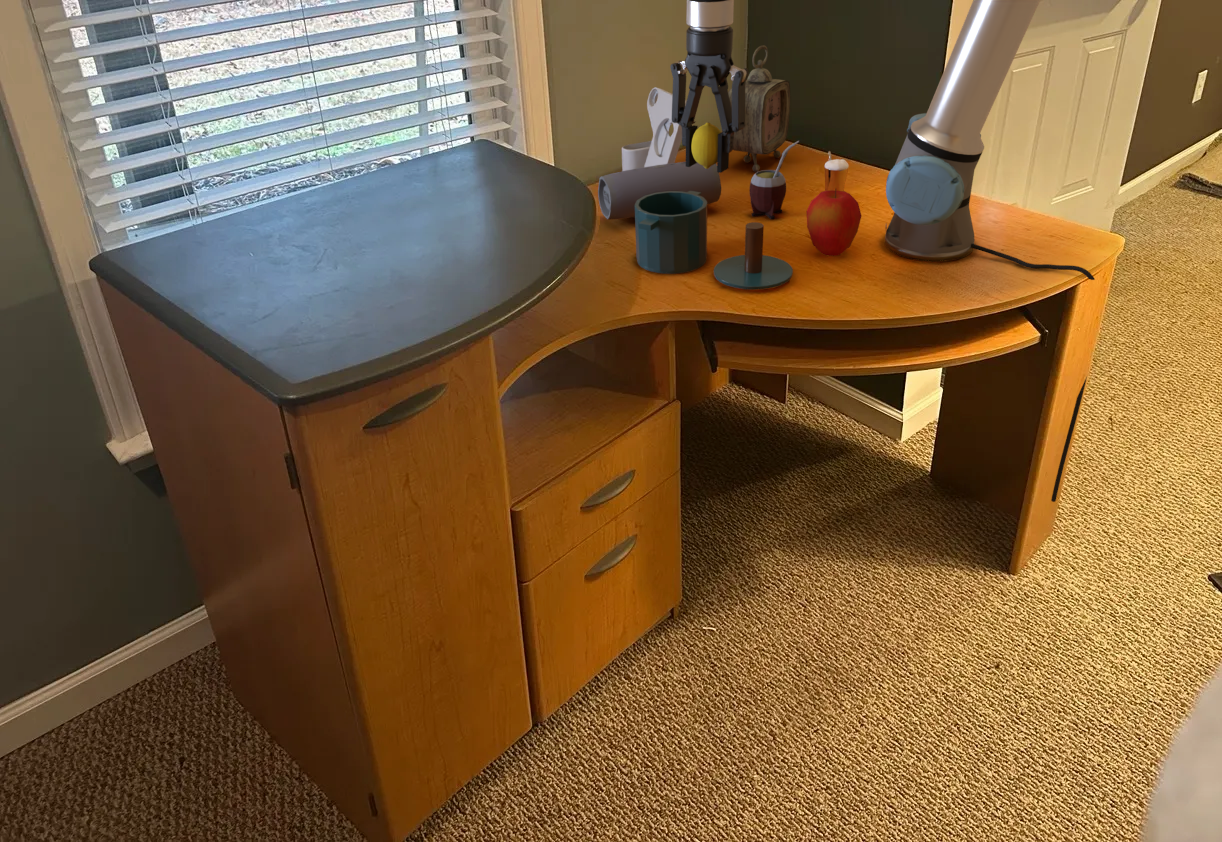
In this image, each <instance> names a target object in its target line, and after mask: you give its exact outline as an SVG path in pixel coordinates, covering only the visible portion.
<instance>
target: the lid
mask: <svg viewBox="0 0 1222 842" xmlns="http://www.w3.org/2000/svg"><path fill="white" fill-rule="evenodd" d="M764 228H765V225H764V224H763V223H762V222H756V221H753V222H747V223H746V224H745V234H744V236H745V237H744V238H745V239H744V254H740V255H735V256H730V257H727V258H725V259H722V260H721V261H719V262H718V263H716V264H715V266H714V267H713V276H714V278H715V280H717V281H718V282H719V283H720V284H723V285H725V286H727V287H731V288H733V289H739V290H748V291H749V290H752V291H754V290H755V291H756V290H768V289H774V288H777V287H780V286H783V285H785V284H786V283H788V282H789V281H790V280H791V279H792V278H793V275H794V269H793V267H792V265H791V264H790V263H789V262H787V261H785V260H784V259H781V258H779V257H775V256H771V255H770V256H769V255H765V254H763V253H764V230H765V229H764Z"/></svg>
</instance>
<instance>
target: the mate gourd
mask: <svg viewBox="0 0 1222 842" xmlns="http://www.w3.org/2000/svg"><path fill="white" fill-rule="evenodd" d="M799 143H800V140H797V141H795V142H793V143H792V144H790V145H788V147H786V148H785V149H784V150H783V152H782V153H781V156H780V160H779V162H778V165H777V167H776V169H763V170H759V171H758V172H755V173H754V174H753V176H752V177H751V180H750V182H749V198H750V206H751V210H752V212H751V217H752V218H753V217H754V218H755V217H760V216H761V217H763V216H766V217H767V218H768V219H770V220H775V218H776V217H775V215H776V214H782V213H783V209H782V206H783V203H784V200H785V197H786V194H787V182H786V178H785V176H784V174H783V173H782V172H781V171H780V169H781V167H782V165H783V162H784V161H785V158H786V157H787V155H788V153H789V151H790V150H791V149H792V148H794V147H795V146H796V145H797V144H799ZM774 214H775V215H774Z"/></svg>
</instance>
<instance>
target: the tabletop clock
mask: <svg viewBox="0 0 1222 842" xmlns="http://www.w3.org/2000/svg"><path fill="white" fill-rule="evenodd" d="M761 50H764V51H765V57H764V59H763V60H762V59H758V60H757V64H756V63H755V59H756V56H757V54H758V52H759V51H761ZM768 57H769V49H768V47H767V46H766V45H760V46H758V47H757V48H756V49H755V50H754V52H753V54H752V58H751V59H752V66H753V69H752V70H751V71H750V72H749V73H748V76H747V79H746V83H745V127H744V128H743V129H741V130H740V131H738V132H734V147H733V150H732V151H737V152H743V153H747V154H746V155H745V156H744V157H743V161H744V163H747V164H749V163H750V162H751V161H752V160H753V165H752V167H751V168H752V171H753V172H755V173H757V172H759V171H760V168H761V167H760V165H759V164H758V162H757V161H758V157H757V155H764V156H767V155H769V154H772V153H773V154H772V155H773V157H774V158H775V159H778V158H781V156H782V153H781V151H780V150H778V149H779V148H780V147H781V146H783V144H785V142H786V140H787V138H788V133H789V128H790V127H789V126H790V115H791V114H790V113H791V85H790V81H789V80H786V79H777V78H773V77H772V73H771V72H770V71H769V70H768V69H767V68H764V67H763V66H765V65H766V62H767V61H768ZM728 95H729V99H730V104H731V109H732V88H730V89H728ZM751 156H752V157H751Z"/></svg>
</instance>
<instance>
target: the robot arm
mask: <svg viewBox="0 0 1222 842" xmlns="http://www.w3.org/2000/svg"><path fill="white" fill-rule="evenodd" d="M1040 2H1041V0H972V2H971V5H970V6H969V9H968V12H967V14H966V16H965V19H964V22H963V24H962V27H961V29H960V31H959V33H958V37H957V39H956V41H955V44H954V46H953V48H952V51H951V53H950V56H949V58H948V60H947V63H946V66H945V68H944V70H943V73H942V74H941V77H940V80H939V82H938V85H937V87H936V90H935V91H934V95H933V97H932V99H931V102H930V104H929V108H928V109H927V111H926V112H924V113H918V114H915V115H913V116H911V117H910V119H909V120H908V121H909V122H908V126H907V128H906V137H905V139H904V142H903V144H902V146H901V149H900V152H899V154H898V156H897V158H896V162H895V163H894V165H893V167H892V168H891V169H890V171H889V173H888V175H887V178H886V184H885V195H886V201H887V202H888V205H889V207H890V208H891V210H892V211H893V213H894V214H893V215H892V217H891V219H890V222H889V224H888V225H887V224H885V235H884V246H885V247H886V249H887V250H888V251H890V252H891V253H893V254H895V255H896V256H900V257H902V258H906V259H909V260H915V261H920V262H931V263H935V262H950V261H956V260H959V259H963V258H966V257H967V256H970V255H971V254H972V252H973V251H974V250H977V251H980V252H983V253H987V254H989V255H993V256H995V257H998V258H1001V259H1004V260H1007V261H1011V262H1013V263H1016V264H1017V265H1019V266H1022V267H1024V268H1028V269H1033V270H1054V271H1055V270H1057V271H1075V272H1076V271H1077V272H1079V273H1081V274H1083V275H1084V276H1085V277H1086V278H1087V279H1088V280H1090V281H1095V280H1096V279H1095V277H1094V276H1093V274H1092V273H1091V272H1090V271H1089V270H1087V269H1086V268H1084V267H1082V266H1078V265H1072V264H1071V265H1070V264H1069V265H1068V264H1049V263H1048V264H1047V263H1044V264H1043V263H1042V264H1040V263H1038V264H1037V263H1030V262H1026V261H1025V260H1022V259H1020V258H1017V257H1014V256H1012V255H1009V254H1006V253H1004V252H1001V251H997V250H994V249H992V248H988V247H985V246H981V245H978V244H976V243H975V240H976V239H975V232H974V227H973V219H972V215H971V211H970V210H971V209H970V201H971V195H972V188H973V182H974V175H975V169H976V168H977V165H978V163H979V161H980V159H981V156H982V154H983V152H984V150H985V145H984V142H983V139H982V134H981V132H982V130H983V128H984V126H985V123H986V121H987V119H988V116H989V115H990V112H991V110H992V108H993V106H994V103H995V101H996V99H997V97H998V94H999V92H1000V91H1001V90H1000V89H1001V88H1002V86H1003V84H1004V81H1005V79H1006V77H1007V75H1008V73H1009V71H1010V68H1011V66H1012V63H1013V61H1014V59H1015V57H1016V55H1017V52H1018V50H1019V48H1020V46H1021V44H1022V41H1023V39H1024V37H1025V35H1026V32H1027V30H1028V29H1029V26H1030V24H1031V22H1032V20H1033V17H1034V15H1035V13H1036V11H1037V9H1038V6H1039V4H1040ZM734 4H735V0H686V23H685V24H686V25H687V26H689V27H688V28H687V29H686V31H685V33H686V41H685V42H686V43H685V44H686V45H685V50H686V52H687V53H686V57H685V59H684V60H677V61H675V62H673V63H671V64H670V72H671V76H672V92H671V94H672V122H673V123H678V124H679V125H681V127H682V140H681V144H682V147H685V162H686V167H691V166H692V165H694V164H696V163H697V162H696V160H695V159H694V157H693V155H692V149H691V144H692V139H693V135H694V133H695V131H696V130H697V129H698V128H699V127H698V125H696V124H695V123H696V122H697V121H695V120H696V115H697V111H698V109H699V104H700V101H701V98H702V94H703V91H704V88H705V87H708V88H710V89H711V93H712V94H713V95H714V99H715V105H716V108H717V114H718V117H719V122H720V127H721V133H720V134H718V157H717V163H716V165H717V172H719V174H721V173H724V172H725V171H726V170H728V169H729V166H730V165H729V163H730V153H732V152H733V151H734V150H733V147H734V132H738V131H740V130H741V129H743V128H744V127H745V83H746V80H747V79H748V76H749V74H750V72H749V69H748V68H746V67H743V68H741V67H738V66H736V65H735V64H734V61H733V58H732V53H733V48H734V47H733V45H734V44H733V43H734V29H733V27H731V25H733V23H734V7H735V5H734ZM687 72H688V73H689V75H690V76H691V77H690V80H689V85H688V89H689V90H688V94H687ZM729 75H730V80H731V81H732V83H731V89H732V109H731V104H730V99H729V95H728V92H729V83H728V77H729ZM686 94H687V95H686ZM686 96H687V98H686ZM685 100H686V105H685ZM673 123H672V124H673ZM1087 378H1088V376H1086V377H1085V379H1084V382H1083V384H1082V386H1081V388H1080V390H1079V392H1078V395H1077V396H1076V399H1075V403H1074V406H1073V407H1074V408H1073V411H1072V414H1071V415H1072V416H1071V419H1070V423H1069V426H1068V431H1067V434H1066V438H1065V443H1064V445H1063V449H1062V453H1061V457H1060V462H1059V465H1058V469H1057V473H1056V477H1055V482H1054V485H1053V490H1052V495H1051V499H1050V500H1051V502H1053V503H1056V501H1057V496H1058V492H1059V488H1060V485H1061V484H1060V483H1061V480H1062V475H1063V472H1064V468H1065V463H1066V459H1067V455H1068V451H1069V449H1070V444H1071V440H1072V437H1073V433H1074V429H1075V425H1076V421H1077V418H1078V415H1079V411H1080V407H1081V403H1082V400H1083V395H1084V391H1085V387H1086V383H1087Z"/></svg>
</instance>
